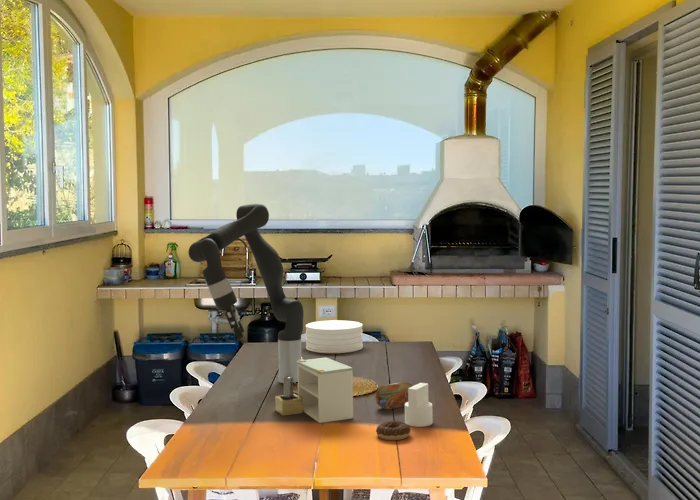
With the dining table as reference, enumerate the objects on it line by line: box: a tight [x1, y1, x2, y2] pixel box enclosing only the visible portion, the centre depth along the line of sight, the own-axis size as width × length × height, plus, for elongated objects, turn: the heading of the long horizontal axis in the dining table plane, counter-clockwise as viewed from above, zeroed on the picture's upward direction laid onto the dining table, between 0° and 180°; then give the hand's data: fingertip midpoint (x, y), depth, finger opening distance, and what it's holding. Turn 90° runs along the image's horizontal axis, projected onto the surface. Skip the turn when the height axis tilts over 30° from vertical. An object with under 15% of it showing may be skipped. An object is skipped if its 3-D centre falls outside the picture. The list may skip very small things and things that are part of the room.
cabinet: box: [296, 356, 354, 424], centre depth 257 cm, size 13×20×17 cm, turn 25°
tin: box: [375, 381, 413, 410], centre depth 264 cm, size 15×3×8 cm, turn 117°
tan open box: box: [274, 393, 303, 416], centre depth 260 cm, size 8×7×5 cm
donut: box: [375, 420, 411, 441], centre depth 232 cm, size 11×11×4 cm
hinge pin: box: [283, 376, 294, 400], centre depth 260 cm, size 3×3×12 cm
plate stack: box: [305, 319, 364, 354], centre depth 373 cm, size 28×28×12 cm
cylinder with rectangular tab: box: [404, 382, 434, 428], centre depth 245 cm, size 9×9×12 cm
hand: (241, 335), depth 266 cm, fingers open, 8 cm apart
